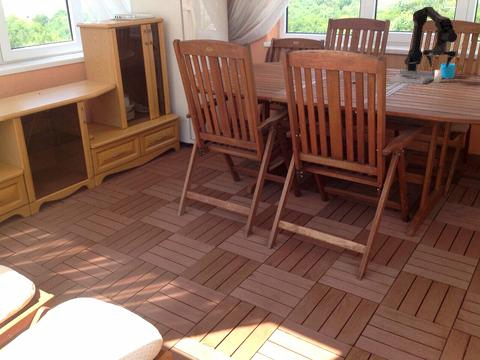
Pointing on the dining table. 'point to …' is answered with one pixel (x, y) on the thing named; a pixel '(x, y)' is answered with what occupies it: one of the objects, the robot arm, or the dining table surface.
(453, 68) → the mug
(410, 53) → the robot arm
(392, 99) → the dining table surface
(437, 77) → the cream domed knob
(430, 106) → the dining table surface
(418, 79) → the jig
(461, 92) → the dining table surface
